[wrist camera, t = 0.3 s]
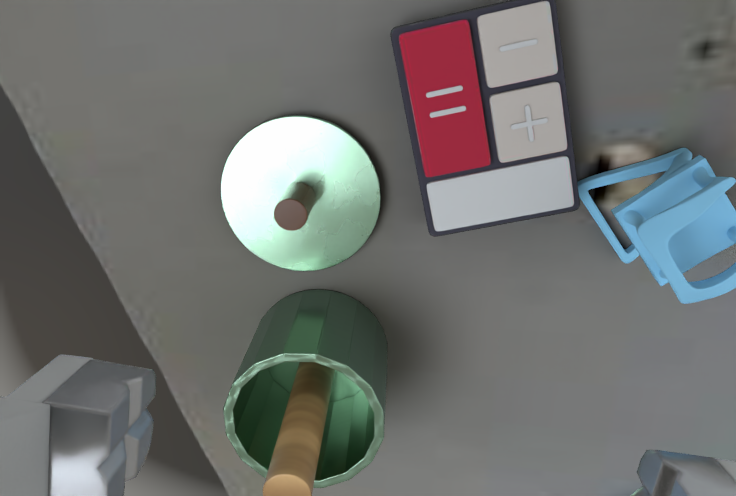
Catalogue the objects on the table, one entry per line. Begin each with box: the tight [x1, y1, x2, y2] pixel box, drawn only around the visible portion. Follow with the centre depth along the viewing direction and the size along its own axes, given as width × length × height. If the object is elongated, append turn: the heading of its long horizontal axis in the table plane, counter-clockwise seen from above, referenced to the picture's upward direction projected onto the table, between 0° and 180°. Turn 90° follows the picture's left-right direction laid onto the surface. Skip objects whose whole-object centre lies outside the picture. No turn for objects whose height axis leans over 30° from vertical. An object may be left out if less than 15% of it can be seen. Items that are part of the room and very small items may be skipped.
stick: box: [263, 362, 335, 496], centre depth 47 cm, size 3×3×17 cm
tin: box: [223, 290, 387, 488], centre depth 50 cm, size 11×11×10 cm
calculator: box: [391, 0, 580, 237], centre depth 46 cm, size 11×4×15 cm
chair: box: [577, 148, 736, 304], centre depth 43 cm, size 8×8×12 cm
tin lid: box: [221, 115, 381, 271], centre depth 48 cm, size 12×12×6 cm
